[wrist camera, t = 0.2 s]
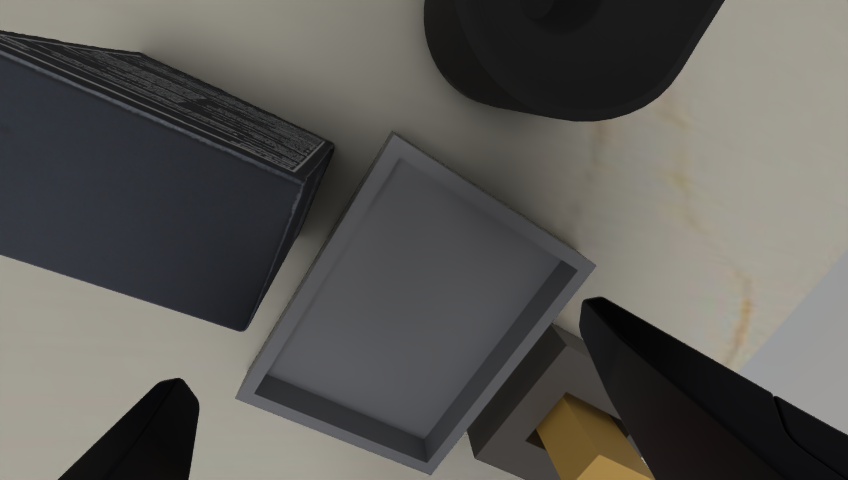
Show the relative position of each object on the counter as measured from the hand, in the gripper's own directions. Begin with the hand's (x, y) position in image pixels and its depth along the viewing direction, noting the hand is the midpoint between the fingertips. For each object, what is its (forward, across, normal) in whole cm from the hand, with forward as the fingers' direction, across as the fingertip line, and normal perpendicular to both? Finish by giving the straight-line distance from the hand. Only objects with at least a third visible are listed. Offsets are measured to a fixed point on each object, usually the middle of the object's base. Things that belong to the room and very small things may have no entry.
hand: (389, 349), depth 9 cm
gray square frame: (+11, -10, +21) cm, 26 cm away
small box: (+16, +8, 0) cm, 18 cm away
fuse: (+11, -10, +21) cm, 26 cm away
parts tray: (+13, 0, +11) cm, 17 cm away
